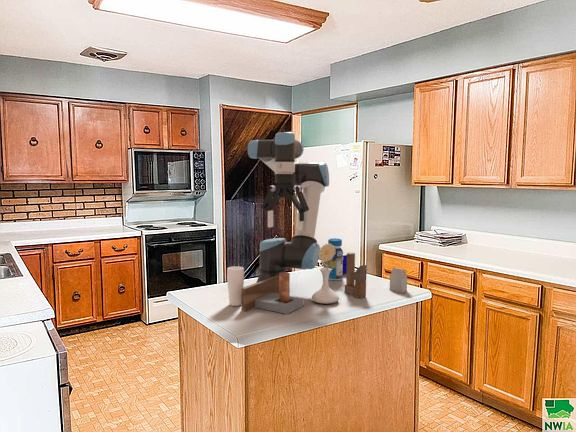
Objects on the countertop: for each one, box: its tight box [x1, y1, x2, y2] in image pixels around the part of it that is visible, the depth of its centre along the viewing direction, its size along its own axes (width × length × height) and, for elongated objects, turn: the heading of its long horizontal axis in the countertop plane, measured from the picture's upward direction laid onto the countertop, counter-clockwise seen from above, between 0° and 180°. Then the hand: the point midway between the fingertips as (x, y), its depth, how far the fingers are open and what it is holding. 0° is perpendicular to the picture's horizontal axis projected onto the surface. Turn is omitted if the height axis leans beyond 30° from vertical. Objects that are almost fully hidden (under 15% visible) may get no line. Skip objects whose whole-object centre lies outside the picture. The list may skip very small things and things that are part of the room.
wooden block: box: [343, 252, 368, 299], centre depth 194 cm, size 4×11×18 cm, turn 30°
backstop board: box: [240, 276, 279, 312], centre depth 182 cm, size 2×24×9 cm, turn 146°
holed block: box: [255, 293, 304, 315], centre depth 177 cm, size 15×12×3 cm
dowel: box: [279, 271, 291, 303], centre depth 175 cm, size 4×4×14 cm
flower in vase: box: [311, 243, 340, 305], centre depth 183 cm, size 13×11×25 cm
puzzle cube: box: [322, 252, 347, 275], centre depth 238 cm, size 10×10×10 cm
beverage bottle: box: [327, 238, 344, 281], centre depth 223 cm, size 8×8×20 cm
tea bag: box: [389, 266, 408, 293], centre depth 203 cm, size 4×7×10 cm, turn 38°
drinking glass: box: [226, 266, 245, 307], centre depth 180 cm, size 7×7×15 cm
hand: (284, 228), depth 173 cm, fingers open, 13 cm apart
